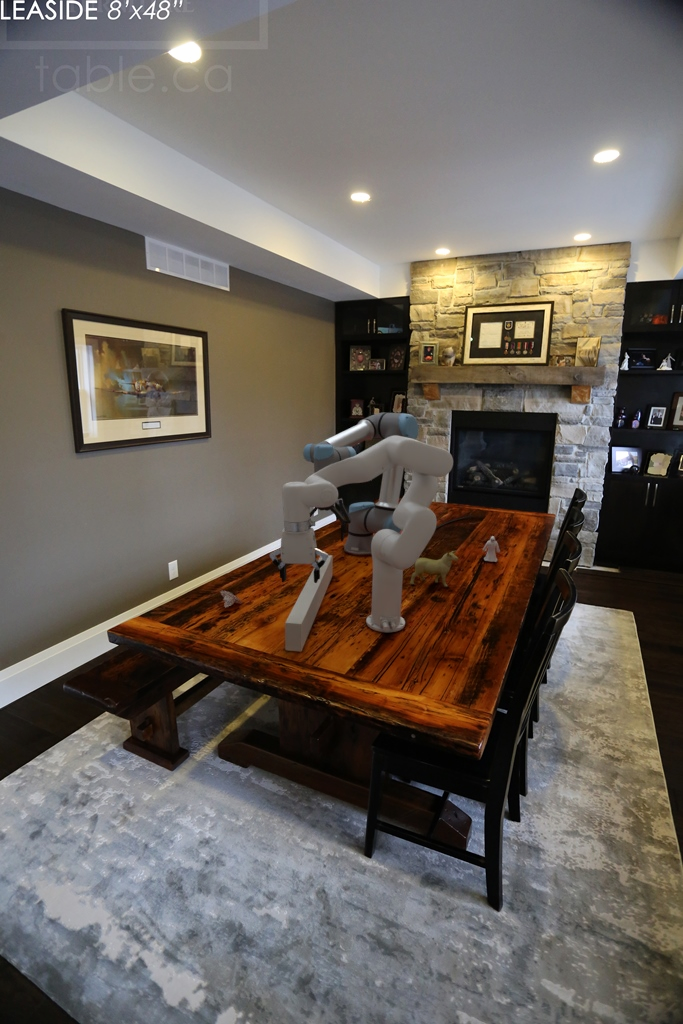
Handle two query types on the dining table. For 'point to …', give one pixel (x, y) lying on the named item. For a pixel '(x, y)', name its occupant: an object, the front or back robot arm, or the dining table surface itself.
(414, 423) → the back robot arm
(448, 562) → the toy
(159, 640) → the dining table surface
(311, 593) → the beam
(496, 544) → the figurine
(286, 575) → the front robot arm
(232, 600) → the seashell
